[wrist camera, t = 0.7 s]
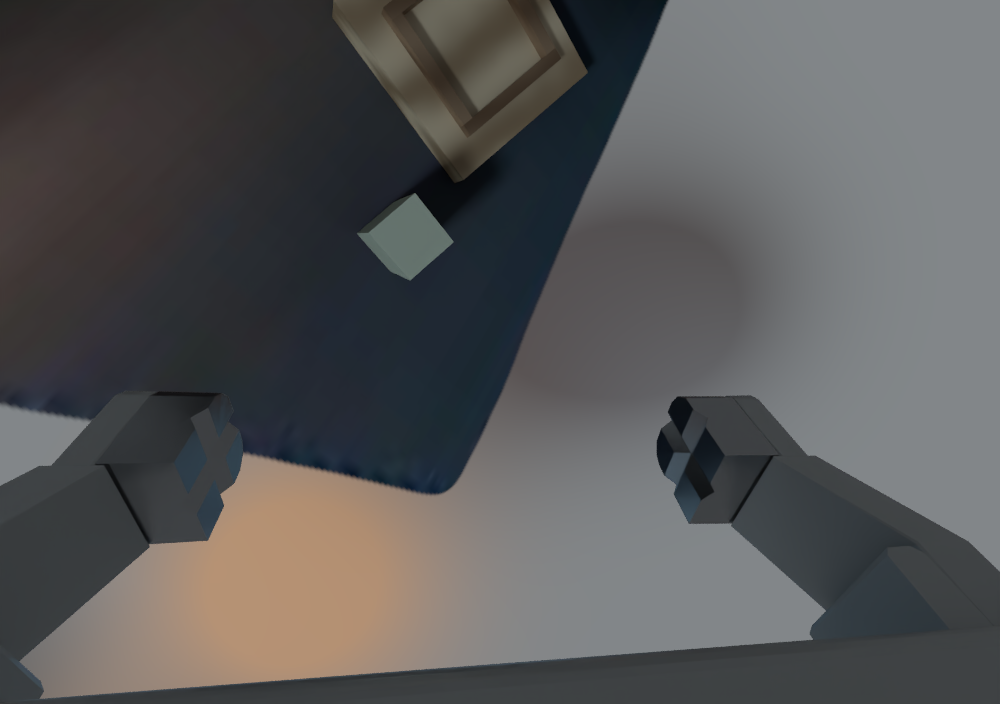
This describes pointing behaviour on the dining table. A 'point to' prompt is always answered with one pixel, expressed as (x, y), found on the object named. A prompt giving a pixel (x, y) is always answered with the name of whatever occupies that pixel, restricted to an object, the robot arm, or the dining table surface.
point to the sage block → (406, 236)
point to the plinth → (464, 68)
